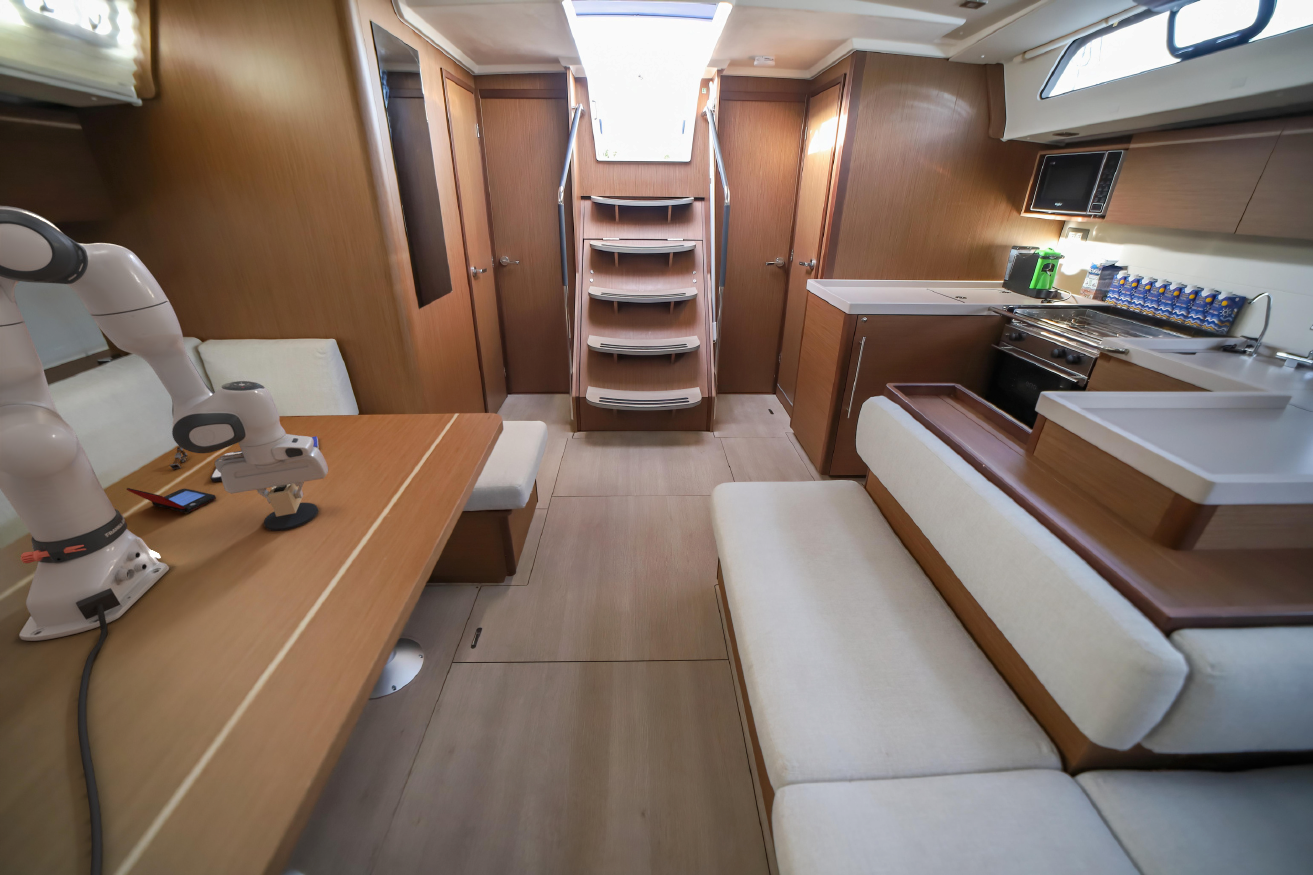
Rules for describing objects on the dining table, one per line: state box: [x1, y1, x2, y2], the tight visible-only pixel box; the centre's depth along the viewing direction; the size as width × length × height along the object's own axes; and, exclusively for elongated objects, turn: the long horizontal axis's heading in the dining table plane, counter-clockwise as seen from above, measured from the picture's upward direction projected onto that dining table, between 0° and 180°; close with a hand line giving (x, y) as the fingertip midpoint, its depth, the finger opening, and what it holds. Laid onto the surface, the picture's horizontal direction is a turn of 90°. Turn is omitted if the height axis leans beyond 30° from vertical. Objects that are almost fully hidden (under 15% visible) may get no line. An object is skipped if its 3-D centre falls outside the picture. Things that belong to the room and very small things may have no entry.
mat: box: [263, 502, 319, 532], centre depth 123 cm, size 11×11×1 cm
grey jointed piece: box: [169, 445, 189, 470], centre depth 147 cm, size 2×8×4 cm, turn 22°
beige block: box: [268, 483, 303, 517], centre depth 121 cm, size 4×8×6 cm, turn 22°
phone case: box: [210, 450, 242, 483], centre depth 145 cm, size 9×2×16 cm
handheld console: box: [126, 487, 217, 514], centre depth 126 cm, size 12×11×7 cm
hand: (286, 499), depth 121 cm, fingers closed on beige block, 4 cm apart
